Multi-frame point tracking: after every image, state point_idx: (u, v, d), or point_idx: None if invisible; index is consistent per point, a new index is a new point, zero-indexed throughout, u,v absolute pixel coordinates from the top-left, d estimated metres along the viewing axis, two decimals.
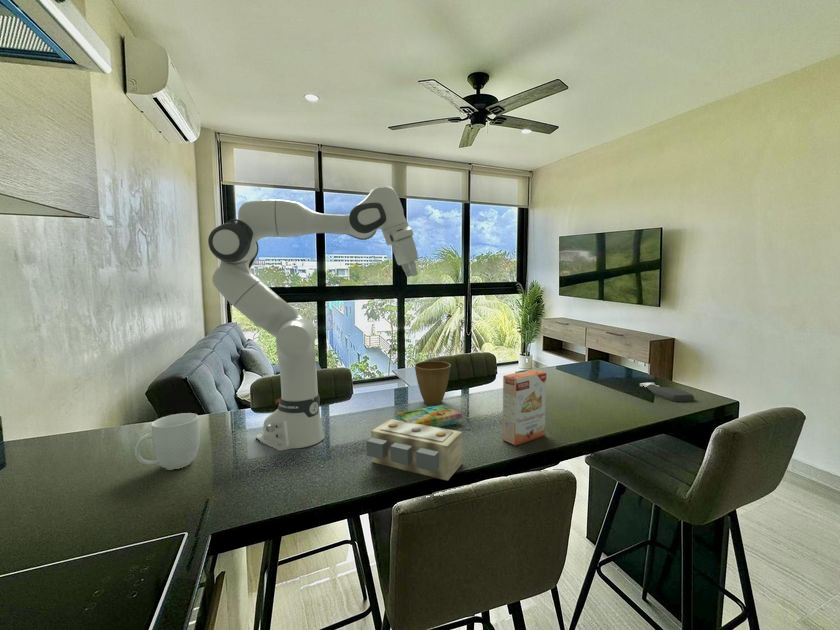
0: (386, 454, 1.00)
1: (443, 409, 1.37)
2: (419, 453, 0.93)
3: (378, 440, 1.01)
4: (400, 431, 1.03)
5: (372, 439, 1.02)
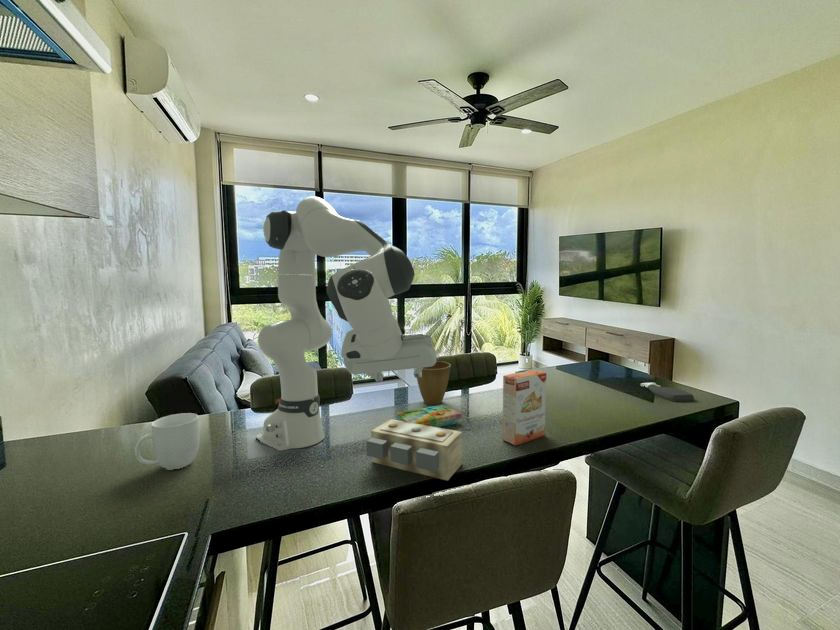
0: (386, 454, 1.00)
1: (443, 409, 1.37)
2: (419, 453, 0.93)
3: (378, 440, 1.01)
4: (400, 431, 1.03)
5: (372, 439, 1.02)
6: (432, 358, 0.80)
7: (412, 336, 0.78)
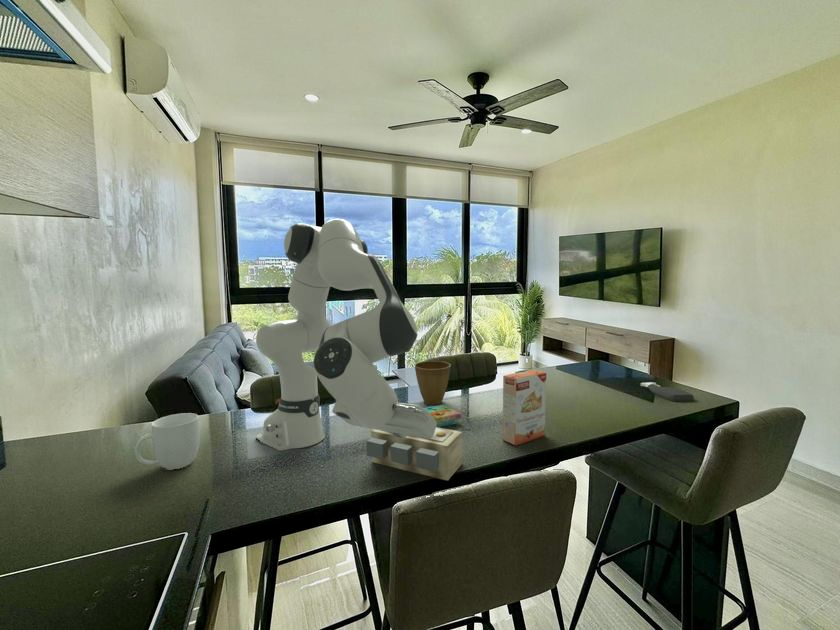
0: (386, 454, 1.00)
1: (443, 409, 1.37)
2: (419, 453, 0.93)
3: (378, 440, 1.01)
4: None
5: (372, 439, 1.02)
6: (427, 433, 0.71)
7: (403, 409, 0.69)
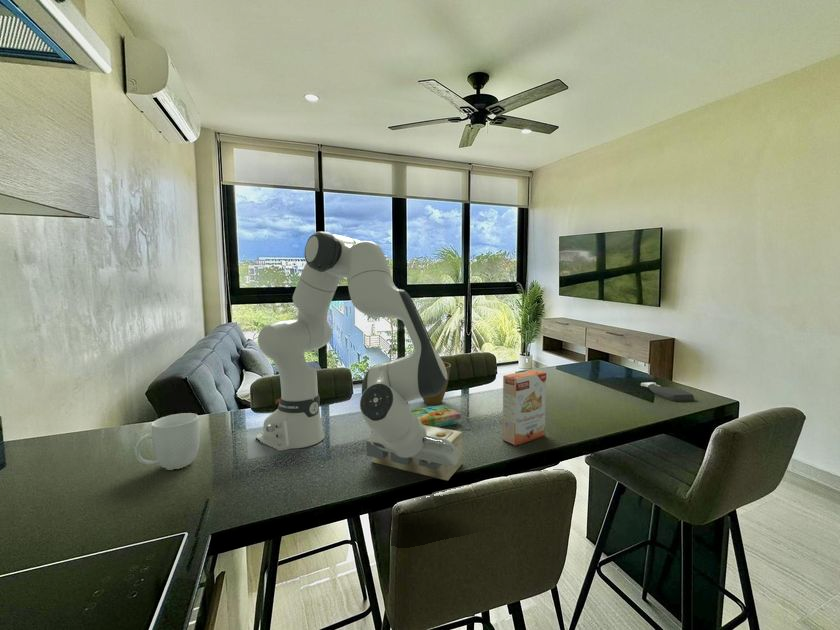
0: (386, 454, 1.00)
1: (443, 409, 1.37)
2: None
3: None
4: None
5: None
6: (451, 462, 0.82)
7: (432, 442, 0.80)
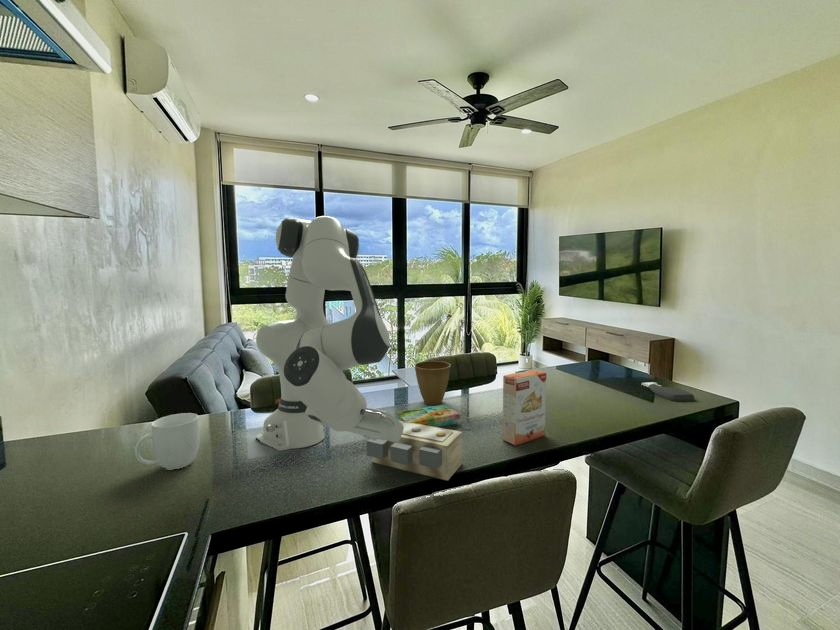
0: (386, 454, 1.00)
1: (443, 409, 1.37)
2: (422, 450, 0.94)
3: (378, 440, 1.01)
4: None
5: None
6: (393, 437, 0.74)
7: (371, 414, 0.72)
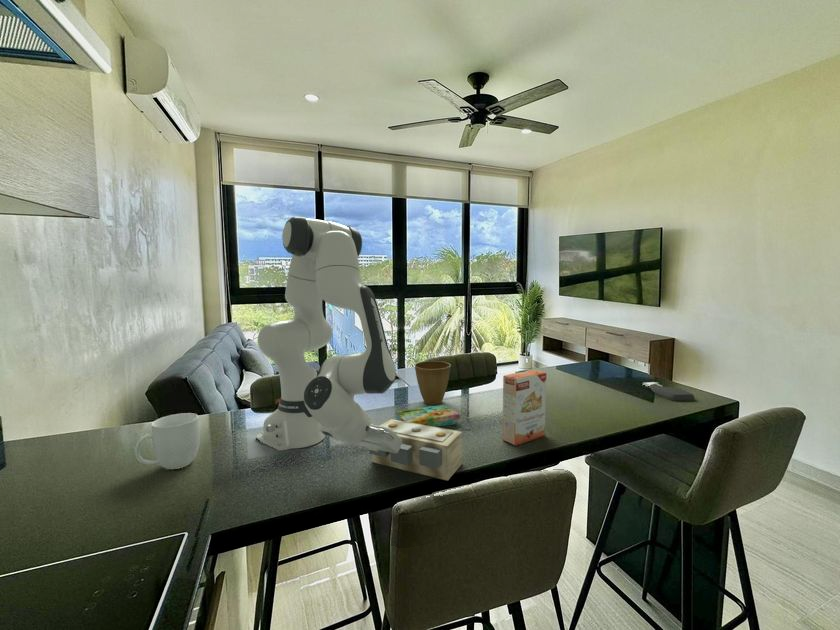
0: (389, 452, 1.01)
1: (443, 409, 1.37)
2: (422, 450, 0.94)
3: None
4: (400, 431, 1.03)
5: None
6: (393, 449, 0.89)
7: (374, 430, 0.87)
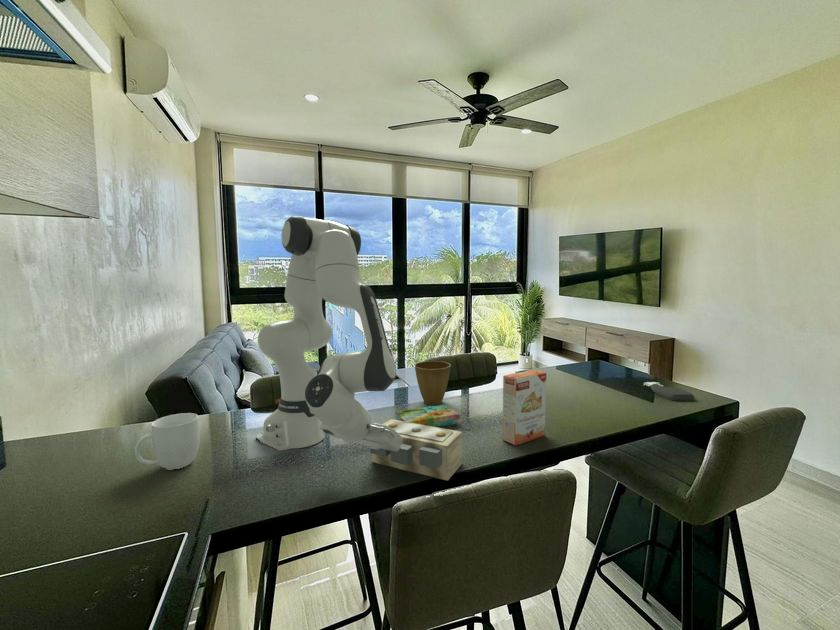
0: (389, 452, 1.01)
1: (443, 409, 1.37)
2: (422, 450, 0.94)
3: None
4: (400, 431, 1.03)
5: None
6: (393, 447, 0.90)
7: (375, 428, 0.88)
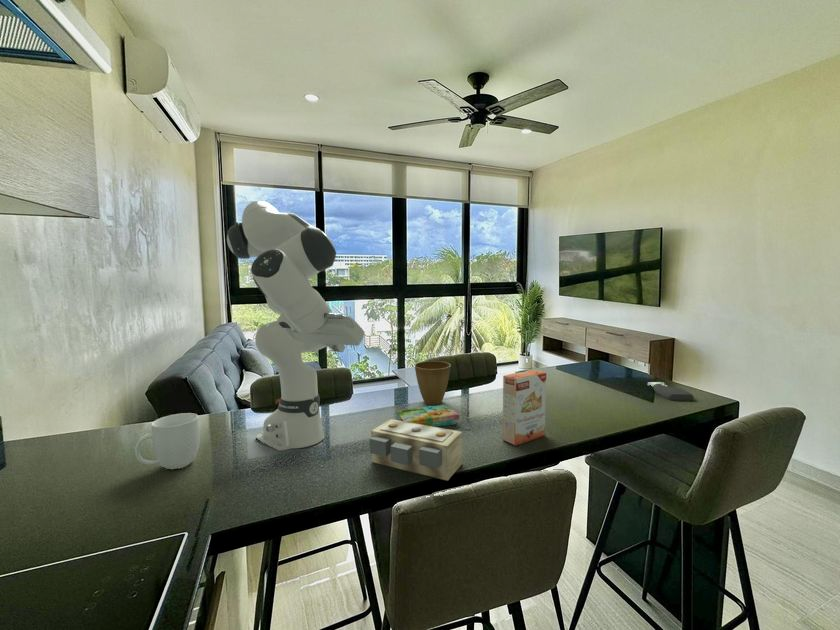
0: (389, 452, 1.01)
1: (443, 409, 1.37)
2: (422, 450, 0.94)
3: (381, 438, 1.02)
4: (400, 431, 1.03)
5: (375, 436, 1.03)
6: (353, 338, 0.84)
7: (332, 315, 0.82)
